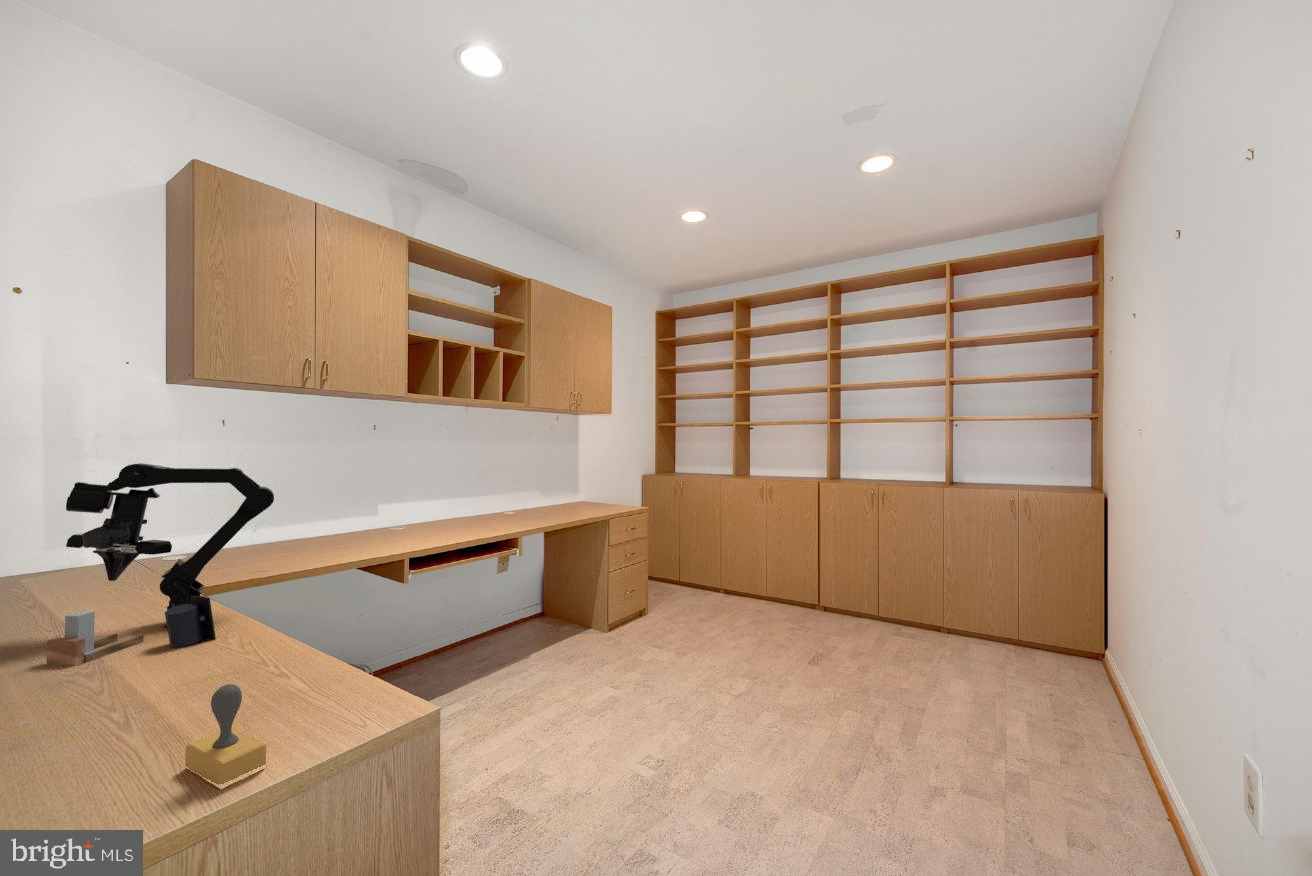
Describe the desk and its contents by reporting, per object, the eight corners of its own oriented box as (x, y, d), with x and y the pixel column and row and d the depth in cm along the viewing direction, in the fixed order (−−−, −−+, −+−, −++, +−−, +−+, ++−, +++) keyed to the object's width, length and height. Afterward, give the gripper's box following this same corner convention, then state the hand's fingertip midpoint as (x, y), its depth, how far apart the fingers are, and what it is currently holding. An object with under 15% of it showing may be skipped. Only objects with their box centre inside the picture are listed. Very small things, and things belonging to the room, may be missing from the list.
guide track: (114, 640, 122) (114, 618, 122) (143, 641, 122) (143, 619, 122) (44, 664, 109) (45, 640, 109) (77, 665, 109) (77, 641, 109)
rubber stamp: (183, 769, 75) (185, 685, 76) (231, 749, 81) (233, 669, 81) (219, 791, 71) (221, 701, 71) (267, 768, 76) (269, 684, 76)
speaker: (207, 633, 127) (203, 591, 126) (216, 639, 124) (212, 596, 123) (165, 646, 121) (160, 602, 120) (173, 653, 118) (169, 608, 116)
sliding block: (76, 653, 114) (77, 611, 114) (98, 654, 114) (99, 611, 114) (59, 659, 111) (60, 615, 111) (82, 660, 111) (83, 616, 111)
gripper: (52, 511, 119) (33, 582, 117) (144, 520, 122) (127, 590, 120) (96, 510, 130) (79, 574, 128) (179, 518, 133) (165, 582, 131)
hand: (112, 580), depth 126 cm, fingers closed
